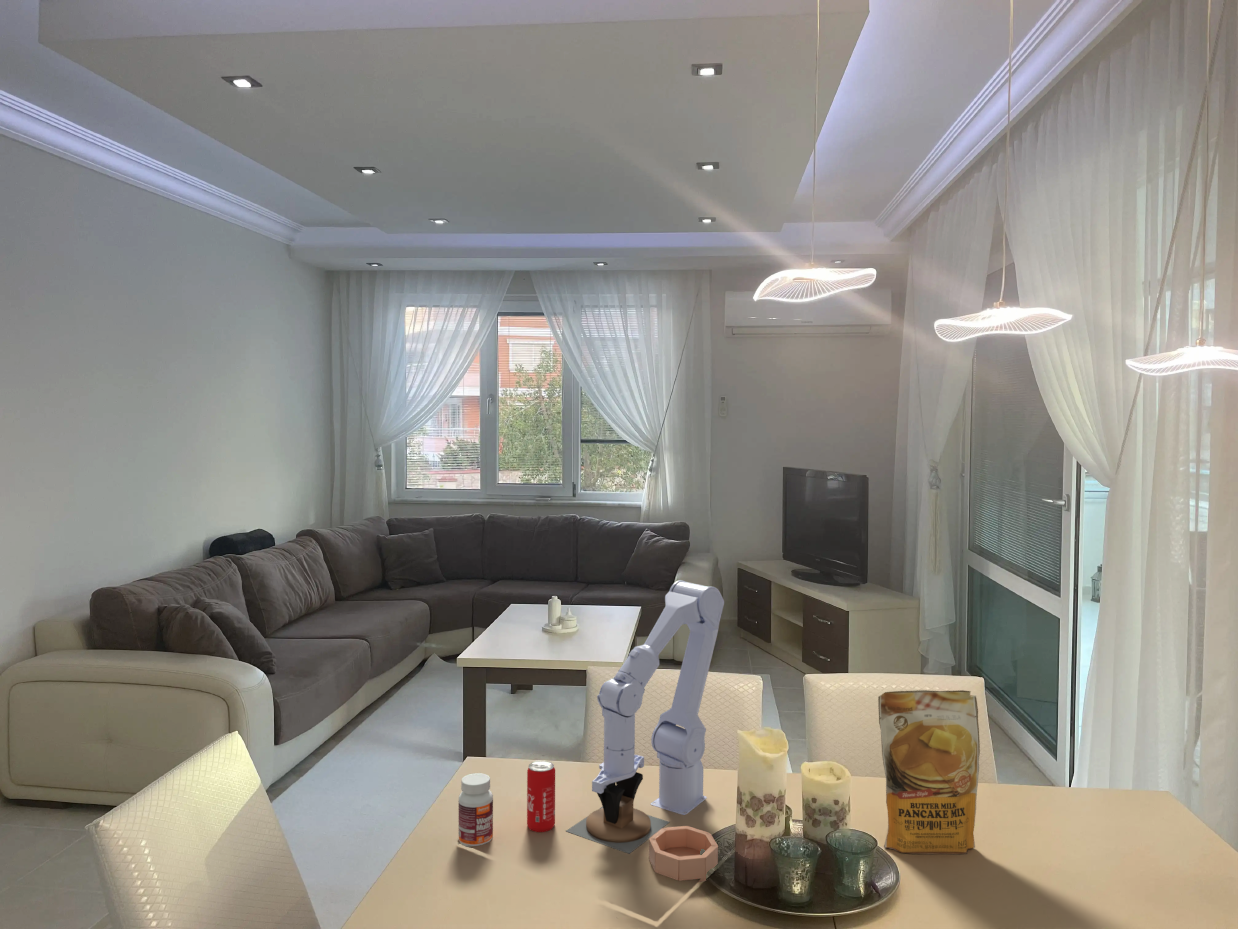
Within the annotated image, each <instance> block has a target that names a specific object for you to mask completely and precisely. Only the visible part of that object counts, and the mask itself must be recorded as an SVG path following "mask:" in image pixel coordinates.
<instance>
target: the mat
mask: <svg viewBox="0 0 1238 929" xmlns="http://www.w3.org/2000/svg"><path fill="white" fill-rule="evenodd" d="M601 808H603V806H601V807H600V808H599V809H601ZM647 815H648V816H649V818H650V820H651V828H650V831H649V833H648V834H647V835H646V836H644V837H643V838H641V839H638V840H635V841H631V842H623V843H615V842H607V841H603V840H600V839H597V838H595V837H593V836H592V835H590V834H589V832H588V831H587V829H586V819H587V817H588V816H589V815H587V816H586V817H584V818H583V819H582V820H580V821H579V822H577V823H575V824H574V825H572V826H571V827H570V828H568V829H566V830H565V832H566V833H570V834H572V835H575V836H578V837H581V838H583V839H587V840H589V841H592V842H595V843H598V844H601V845H604V846H605V847H608V848H611V849H613V850H617V851H620V852H623V853H625V854H629V855H630V854H631V853H633V852H634V851H635V850H636V849H638V848H639V847H640V846H642V845H643V844H644V843H645V842H647V841H649V838H650V837H652V836H653V835H654V834H655V833H657V832H658V831H659V830H660V829H662V828H665V827H666V826H667V825H668V824H669V823H671V821H668V820H665V819H663V818H659V817H656V816H654V815H653V816H652V815H649V814H647Z"/></svg>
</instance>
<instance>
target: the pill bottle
mask: <svg viewBox="0 0 1238 929" xmlns="http://www.w3.org/2000/svg"><path fill="white" fill-rule="evenodd" d="M460 783H461V785H460V787H461V788H460V789H461V792H460V794H459V795H458V841H459V843H460V845H462V846H464V847H466V848H471V849H472V848H474V847H475V846H482V845H486V844H488V843H489V842H490V841H491V840H493V838H494V837H493V836H494V794H493V793H492V791H491V790H490V789H491V777H490V776H489V775H488V774H486V773H481V772H477V773H475V772H474V773H470V774H466V775H465V776H463V777H462V778H461V782H460Z"/></svg>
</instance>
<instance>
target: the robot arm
mask: <svg viewBox="0 0 1238 929" xmlns="http://www.w3.org/2000/svg"><path fill="white" fill-rule="evenodd" d="M664 602H665V603H664V604H665V607H664V608H663V610H662V612H661V613H660V615H659V617H658V618H657V620H656V622H655V624H654V626H653V628H652V629H651V631H650V633H649V635H648V637H647V638H646V640H645V642H644V643H643V644H641V645H636V646H634V647H633V649H631V650H630V651H629V653H628V656H627V657H626V660H624V661H623V664H622V665H621V667H620V668H619V670H618V671H617V672H616V674H615V675H614V677H613V678H609V680H607V681H604V682H603V684H602V685H601V687H600V689H599V693H598V694H597V696H596V698H597V699H596V700H597V703H598V705H599V706H600V708H601V715H602V716H603V762H602V763H599V764H598V768H599V770H600V771H599V773H598V775H597V776H596V777H595V778H594V779H593V780H592V781H591V791H592V792H594V793H596V794H597V796H598V798H599V800H600V803H601V807H603V810H604V814H605V818H606V821H607V822H610V823H613V824H616V823H617V821H618V816H619V806H620V801H621V798H622V795H623V796H626V797H629V798H632V799H633V803H634V801H635V799H636V796H637V795H636V794H637V791H638V790H639V787H640V784H642V781H643V780H644V774H643V773H642V772H641V773H640V772H637V770H638V769H642V768H643V767H645V756H643V755H639V754H635V751H636V750H635V748H636V745H635V739H636V738H635V736H636V729H635V728H636V727H635V726H636V713H637V712H638V711H639V710H640V708H641V706H642V704H643V697H644V694H645V691H646V689H645V688H646V686H647V684H648V683H649V682H650V680H651V679H652V677H653V675H654V674H655V672H657V671H656V670H657V669H658V668H659V666H660V658H659V655H660V654H661V653H662V651H663V650H664V649H665V647H666V646H667V645H668V644H669V642H670V641H671V639H673V637H674V636H675V634H676V633H677V632H678V630H679V629H680V628H681V627H682V626H683V625H686V626H687V627H688V629H689V634H688V637H687V638H688V639H687V642H686V647H685V651H684V655H683V660H682V663H681V667H680V671H679V675H678V680H677V683H676V688H675V691H674V696H673V700H672V703H671V707H670V708H669V709H667V710H666V711H664V712H662V713H661V714H660V716H659V719H658V722H657V724H656V726H655V728H654V729H653V731H652V734H651V738H650V740H651V743H650V744H651V747H652V749H653V750H654V751H655V752H656V758H657V759H658V760H659V764H658V765H659V769H658V770H659V772H658V773H659V774H658V775H659V778H658V779H659V780H658V781H659V782H658V787H659V789H658V798H656V799H655V800H654V801H652V802H651V803H650V805H651V806H653V807H656V808H660V809H663V810H665V811H668V812H672V813H675V814H679V815H683V816H685V815H687V814H689V813H690V812H691V811H692V810H693V809H695V808H696V807H698V806H699V805H700V804H702V803H703V801H705V800H707V799H708V797H707V796H706V795H704V766H703V762H702V760H701V759H702V758H703V756H704V754H705V750H706V749H705V748H706V747H705V746H706V744H705V743H706V742H705V740H706V739H705V737H706V731H707V728H706V727H705V725H704V723H703V722H702V720H701V718H700V717H699V712H700V707H701V703H702V698H703V695H704V691H705V686H706V682H707V678H708V674H709V670H710V666H711V662H712V658H713V654H714V649H715V646H716V641H717V636H718V633H719V627H720V622H721V617H722V614H723V610H724V607H725V606H724V605H725V600H724V597H723V596H722V594H721V592H720V590H719V589H718V588H717V587H715V586H711V585H710V586H706V585H703V584H698V583H693V582H688V581H685V580H682V579H679V580H676V581H675V582H673V584H671V586H670V588H669V591H668V592H667V593H666V594H665V596H664Z"/></svg>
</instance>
